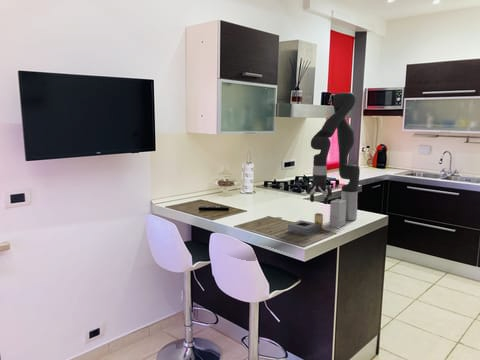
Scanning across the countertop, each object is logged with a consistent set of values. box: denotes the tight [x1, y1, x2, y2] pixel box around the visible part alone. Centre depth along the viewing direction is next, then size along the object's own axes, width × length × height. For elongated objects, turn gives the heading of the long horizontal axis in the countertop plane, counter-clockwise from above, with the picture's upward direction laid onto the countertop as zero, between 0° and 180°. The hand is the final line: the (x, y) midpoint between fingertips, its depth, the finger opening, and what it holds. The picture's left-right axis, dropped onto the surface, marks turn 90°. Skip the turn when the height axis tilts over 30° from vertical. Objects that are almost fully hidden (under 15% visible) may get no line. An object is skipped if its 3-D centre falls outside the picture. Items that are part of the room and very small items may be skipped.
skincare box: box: [329, 198, 347, 229], centre depth 217 cm, size 8×6×15 cm
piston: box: [314, 212, 324, 231], centre depth 212 cm, size 4×4×8 cm
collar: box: [287, 220, 320, 237], centre depth 208 cm, size 12×12×4 cm
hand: (318, 202), depth 211 cm, fingers open, 8 cm apart
